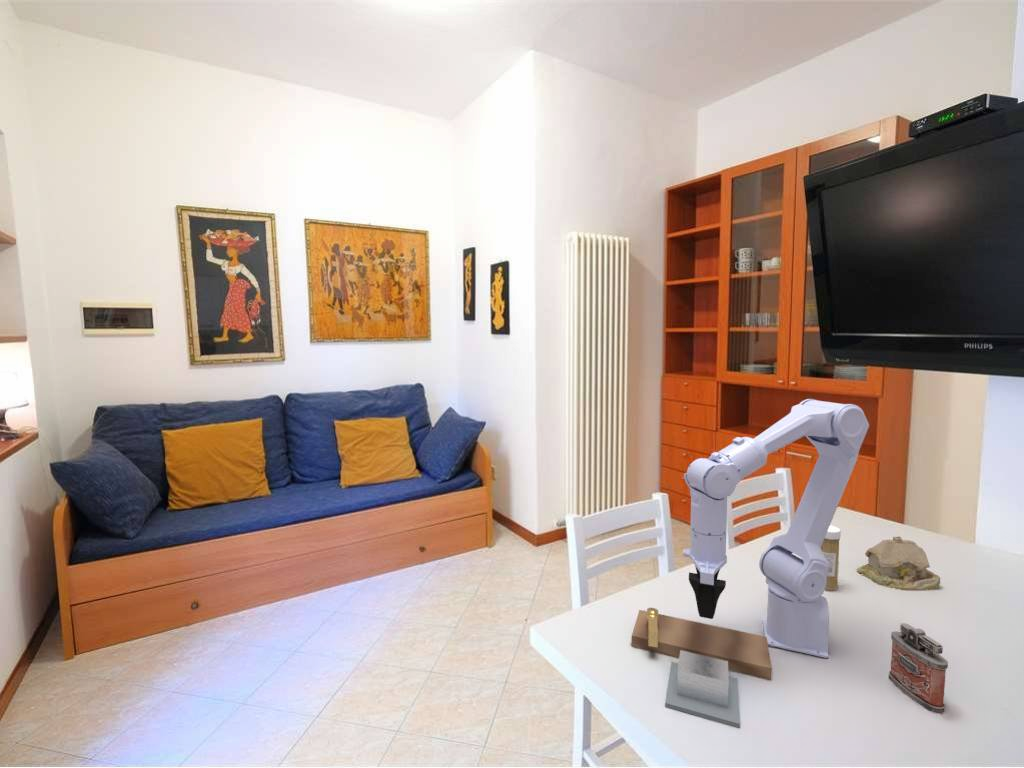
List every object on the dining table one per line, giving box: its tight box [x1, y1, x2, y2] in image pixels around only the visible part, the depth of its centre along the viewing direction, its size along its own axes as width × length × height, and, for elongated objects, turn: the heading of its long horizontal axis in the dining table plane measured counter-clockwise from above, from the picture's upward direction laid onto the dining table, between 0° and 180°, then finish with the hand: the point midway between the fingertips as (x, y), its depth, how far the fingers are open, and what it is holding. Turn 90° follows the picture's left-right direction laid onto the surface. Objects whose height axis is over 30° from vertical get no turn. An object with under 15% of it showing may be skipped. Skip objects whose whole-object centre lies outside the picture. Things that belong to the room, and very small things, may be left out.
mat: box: [664, 661, 741, 729], centre depth 73 cm, size 10×10×1 cm
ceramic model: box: [856, 536, 941, 591], centre depth 108 cm, size 14×11×10 cm
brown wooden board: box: [631, 609, 773, 681], centre depth 84 cm, size 22×9×2 cm, turn 66°
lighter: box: [888, 622, 949, 714], centre depth 72 cm, size 8×3×10 cm, turn 5°
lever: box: [646, 607, 659, 647], centre depth 85 cm, size 8×2×3 cm, turn 165°
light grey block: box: [677, 650, 729, 708], centre depth 73 cm, size 7×5×4 cm
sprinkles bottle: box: [821, 524, 842, 592], centre depth 105 cm, size 5×5×14 cm
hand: (706, 605), depth 83 cm, fingers open, 7 cm apart
